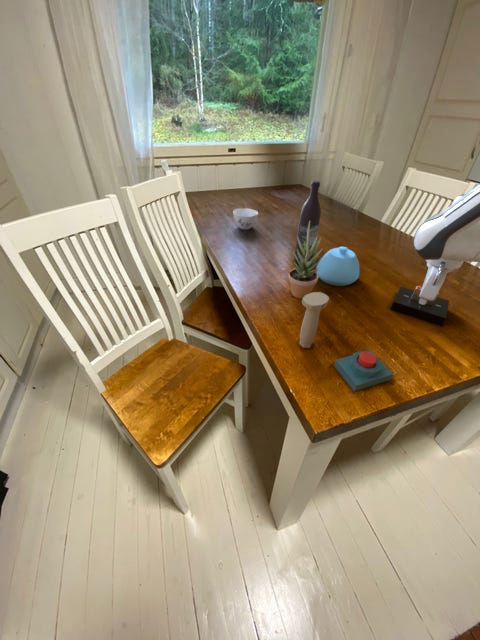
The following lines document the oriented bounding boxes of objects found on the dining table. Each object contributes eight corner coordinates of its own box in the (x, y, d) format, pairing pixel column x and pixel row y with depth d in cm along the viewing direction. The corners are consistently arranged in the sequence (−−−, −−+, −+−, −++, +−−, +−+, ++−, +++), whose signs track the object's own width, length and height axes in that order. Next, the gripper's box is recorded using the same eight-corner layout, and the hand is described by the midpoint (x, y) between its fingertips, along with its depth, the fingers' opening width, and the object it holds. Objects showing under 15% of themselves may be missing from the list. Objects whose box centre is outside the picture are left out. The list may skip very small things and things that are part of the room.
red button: (366, 355, 65) (369, 350, 64) (377, 366, 62) (379, 361, 61) (354, 359, 64) (356, 353, 63) (364, 370, 61) (366, 365, 60)
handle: (320, 345, 72) (333, 299, 63) (302, 355, 70) (313, 308, 60) (307, 335, 76) (318, 289, 66) (290, 344, 73) (298, 297, 63)
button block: (367, 356, 70) (372, 345, 67) (390, 380, 64) (396, 368, 61) (333, 365, 67) (337, 354, 64) (354, 391, 61) (359, 380, 59)
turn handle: (433, 302, 83) (439, 291, 81) (432, 305, 82) (438, 293, 79) (411, 296, 86) (417, 284, 83) (410, 299, 85) (416, 287, 82)
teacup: (253, 233, 133) (254, 217, 128) (229, 230, 136) (229, 214, 131) (261, 223, 145) (262, 207, 140) (239, 220, 148) (239, 205, 142)
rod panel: (444, 308, 86) (449, 300, 84) (441, 326, 79) (446, 317, 77) (397, 293, 93) (400, 286, 91) (390, 309, 86) (393, 301, 84)
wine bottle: (291, 265, 108) (302, 182, 89) (296, 257, 113) (308, 178, 94) (308, 268, 106) (324, 184, 87) (312, 261, 111) (328, 180, 92)
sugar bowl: (330, 264, 109) (336, 235, 102) (364, 278, 100) (374, 248, 93) (307, 276, 101) (312, 246, 94) (342, 292, 93) (351, 262, 85)
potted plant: (291, 283, 97) (302, 212, 82) (317, 290, 94) (334, 217, 78) (281, 297, 90) (291, 222, 75) (309, 305, 87) (325, 228, 71)
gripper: (455, 274, 67) (430, 319, 75) (460, 247, 80) (438, 287, 88) (427, 267, 69) (405, 311, 78) (436, 241, 82) (417, 281, 91)
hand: (423, 298), depth 83 cm, fingers open, 5 cm apart
